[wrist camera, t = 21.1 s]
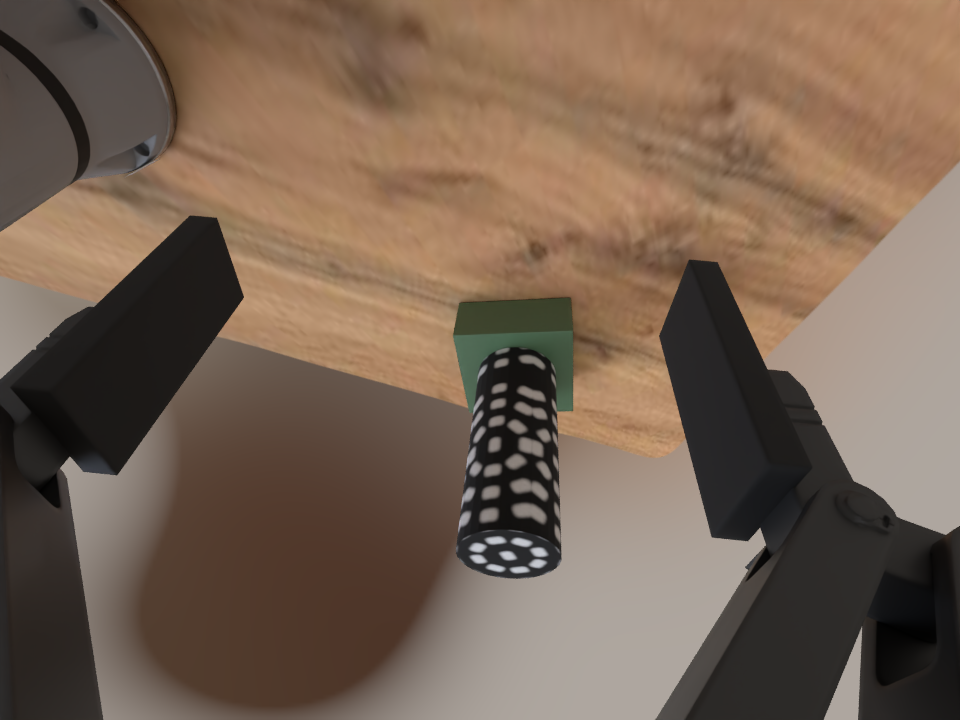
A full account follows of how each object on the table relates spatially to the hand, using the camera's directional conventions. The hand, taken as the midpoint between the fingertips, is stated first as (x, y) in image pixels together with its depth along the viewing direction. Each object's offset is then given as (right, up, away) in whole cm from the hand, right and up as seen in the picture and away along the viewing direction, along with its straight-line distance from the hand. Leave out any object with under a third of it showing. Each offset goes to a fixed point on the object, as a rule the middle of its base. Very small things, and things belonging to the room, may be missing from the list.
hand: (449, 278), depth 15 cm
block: (+5, 0, +44) cm, 44 cm away
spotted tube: (+5, -4, +40) cm, 40 cm away
